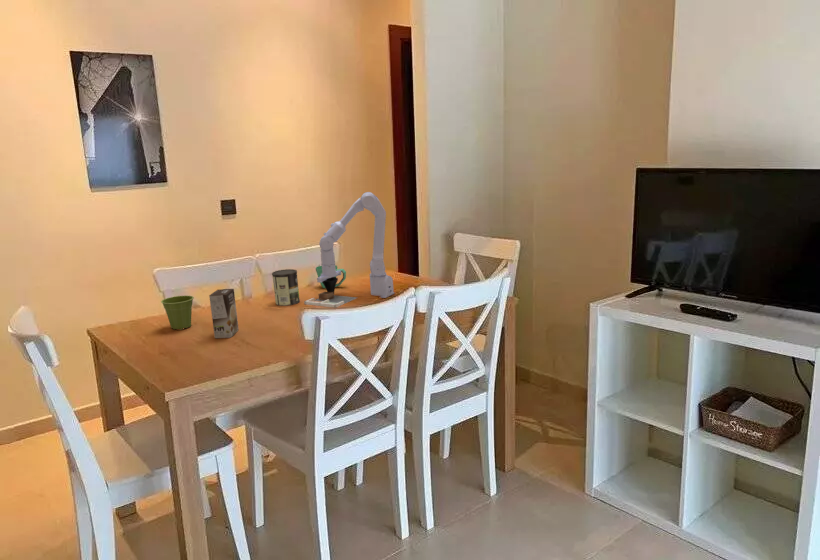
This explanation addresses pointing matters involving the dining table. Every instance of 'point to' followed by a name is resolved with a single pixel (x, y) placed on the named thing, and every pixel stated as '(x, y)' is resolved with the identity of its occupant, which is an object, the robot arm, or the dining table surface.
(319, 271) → the mug
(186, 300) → the plant pot
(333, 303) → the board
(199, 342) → the dining table surface
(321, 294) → the token
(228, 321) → the coffee box
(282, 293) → the coffee can
